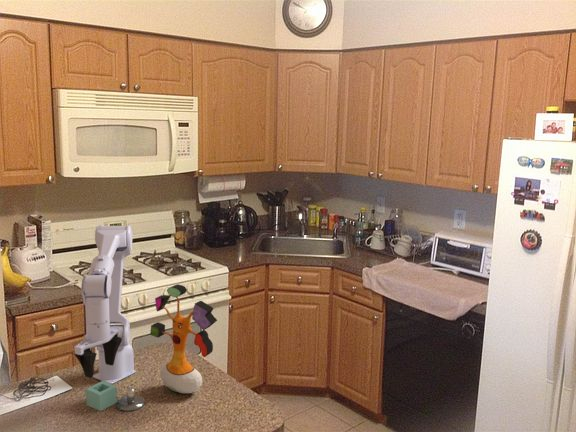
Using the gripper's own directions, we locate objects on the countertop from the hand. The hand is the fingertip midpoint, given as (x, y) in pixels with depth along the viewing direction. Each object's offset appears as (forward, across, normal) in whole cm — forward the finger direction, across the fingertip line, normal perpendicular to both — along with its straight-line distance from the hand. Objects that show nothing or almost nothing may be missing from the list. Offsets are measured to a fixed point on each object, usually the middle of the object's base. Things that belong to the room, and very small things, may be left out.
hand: (99, 370), depth 143 cm
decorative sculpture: (+10, -15, +16) cm, 24 cm away
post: (+9, -3, +7) cm, 12 cm away
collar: (+9, 0, 0) cm, 9 cm away
